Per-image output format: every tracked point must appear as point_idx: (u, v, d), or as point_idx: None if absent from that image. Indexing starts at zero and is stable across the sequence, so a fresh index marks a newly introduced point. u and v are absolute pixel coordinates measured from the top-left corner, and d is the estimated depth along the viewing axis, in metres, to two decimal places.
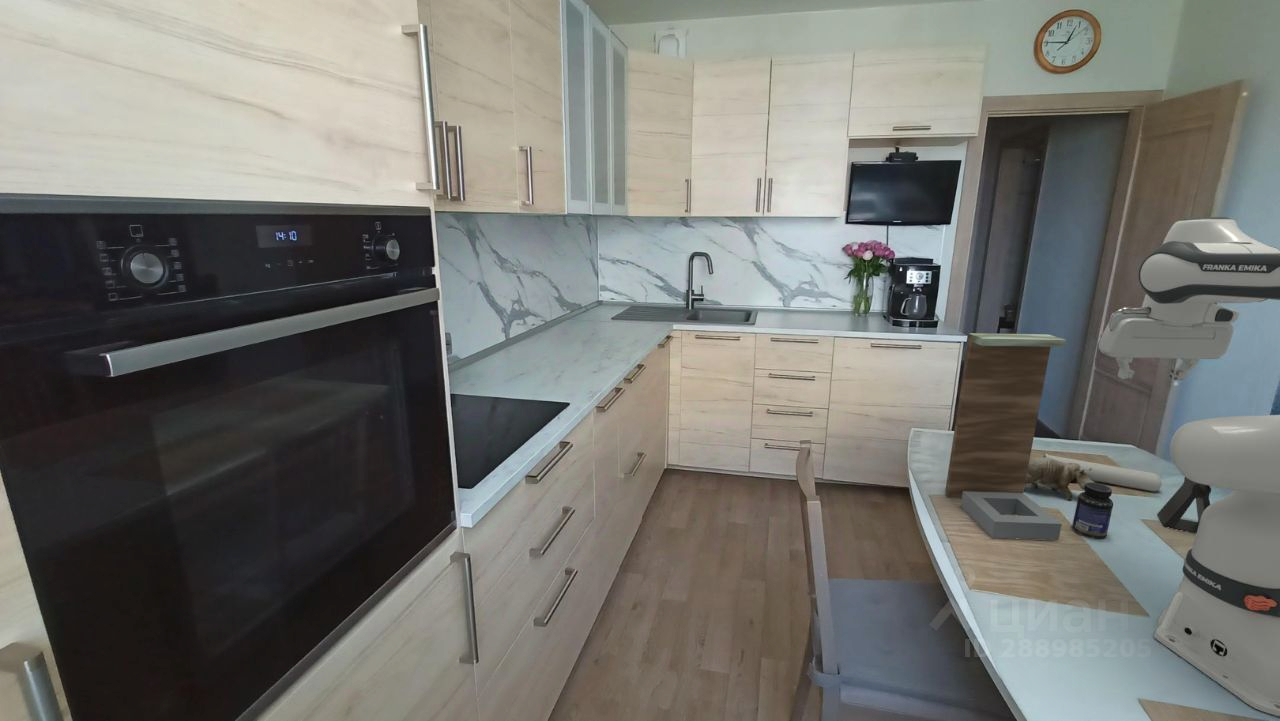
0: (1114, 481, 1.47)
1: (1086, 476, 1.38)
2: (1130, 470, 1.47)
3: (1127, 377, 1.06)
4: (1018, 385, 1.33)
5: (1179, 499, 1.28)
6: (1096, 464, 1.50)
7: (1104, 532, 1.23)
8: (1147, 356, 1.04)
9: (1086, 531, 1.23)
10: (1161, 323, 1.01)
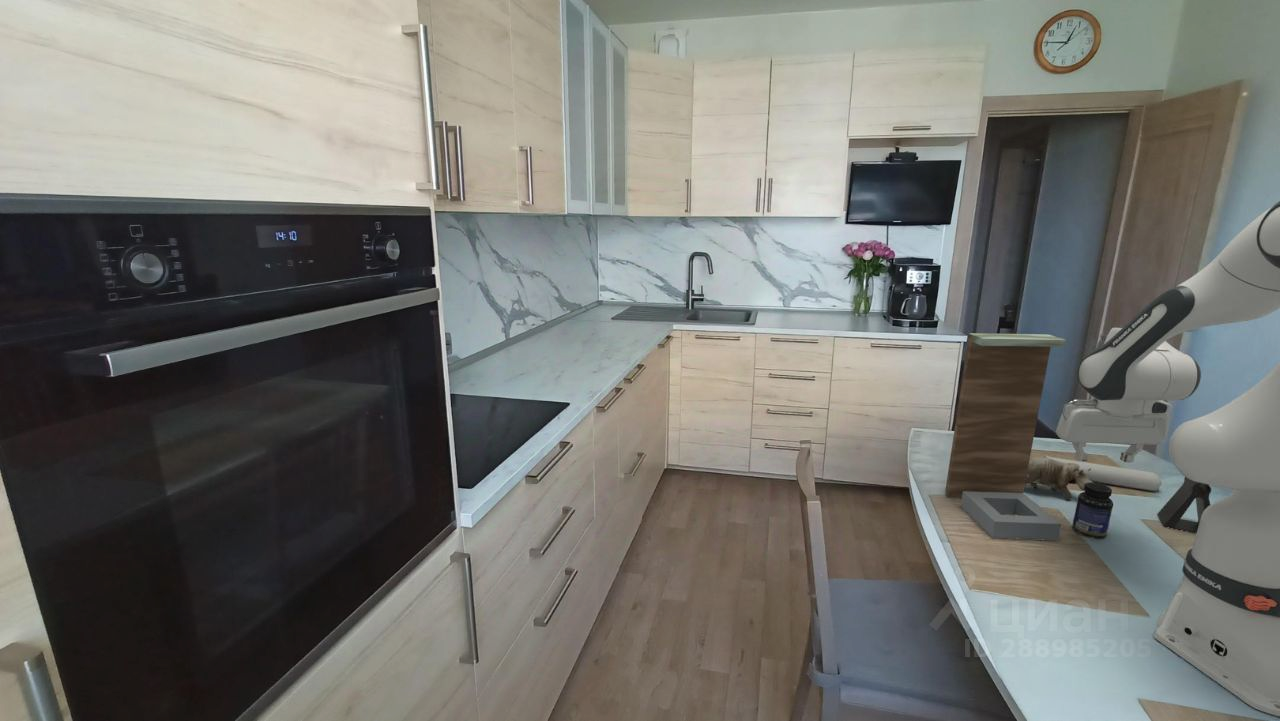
0: (1115, 482, 1.47)
1: (1085, 476, 1.37)
2: (1130, 470, 1.47)
3: (1082, 459, 1.21)
4: (1018, 385, 1.33)
5: (1179, 499, 1.28)
6: (1096, 465, 1.49)
7: (1104, 532, 1.23)
8: (1097, 441, 1.19)
9: (1086, 531, 1.23)
10: (1107, 413, 1.17)
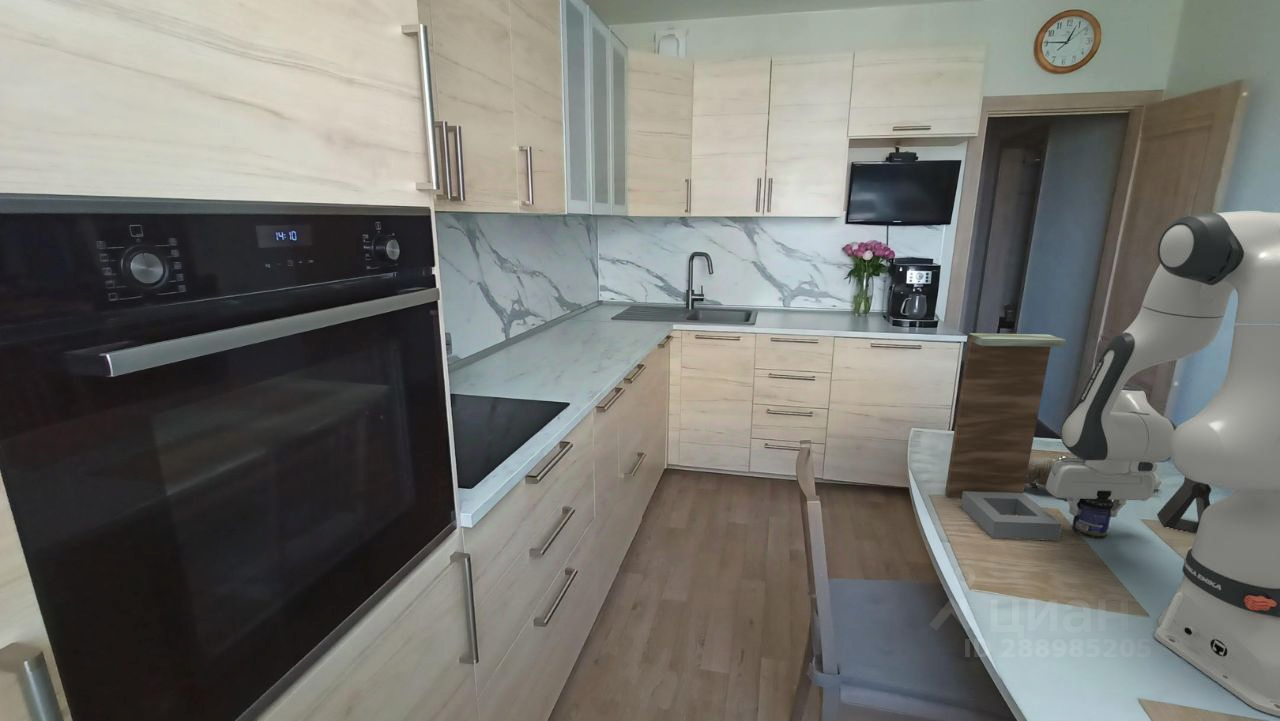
0: None
1: None
2: None
3: (1076, 514, 1.24)
4: (1018, 385, 1.33)
5: (1179, 499, 1.28)
6: None
7: (1104, 532, 1.23)
8: (1086, 497, 1.22)
9: (1086, 531, 1.23)
10: (1095, 470, 1.20)
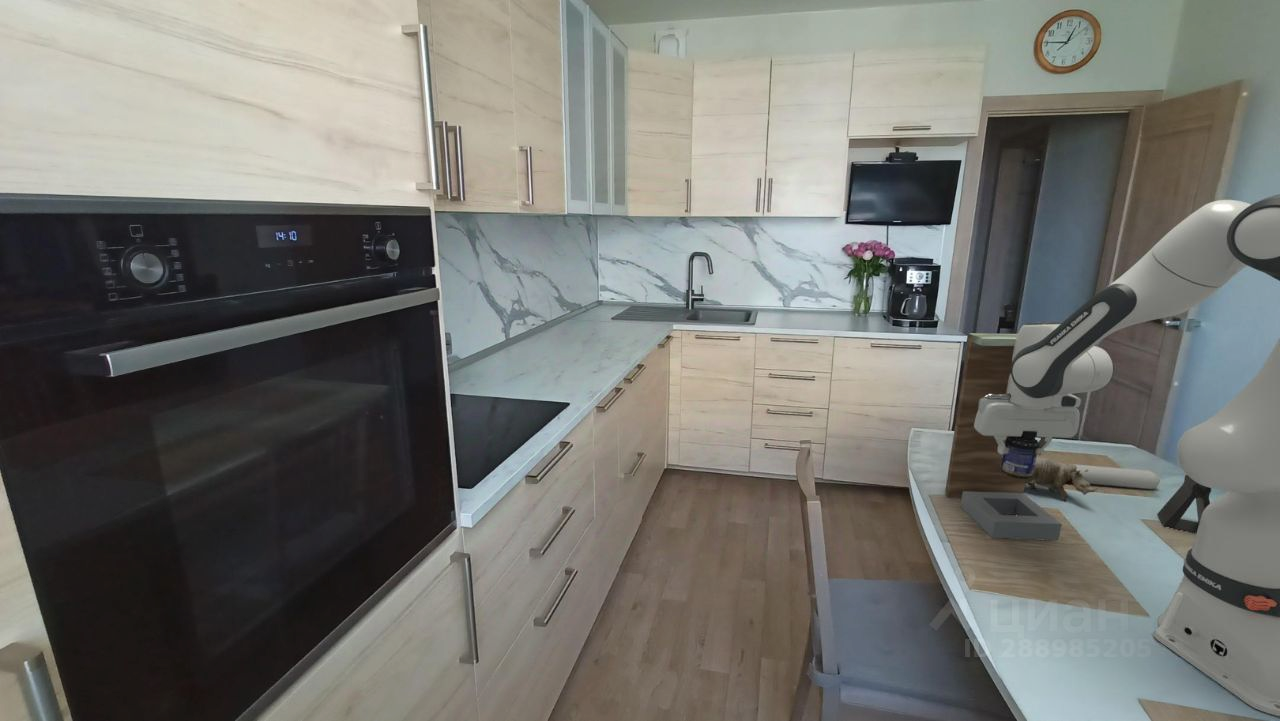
0: (1118, 483, 1.46)
1: (1082, 477, 1.37)
2: (1130, 470, 1.46)
3: (1004, 452, 1.25)
4: None
5: (1179, 499, 1.28)
6: (1099, 467, 1.48)
7: (1030, 473, 1.23)
8: (1012, 435, 1.23)
9: (1012, 472, 1.24)
10: (1019, 407, 1.21)
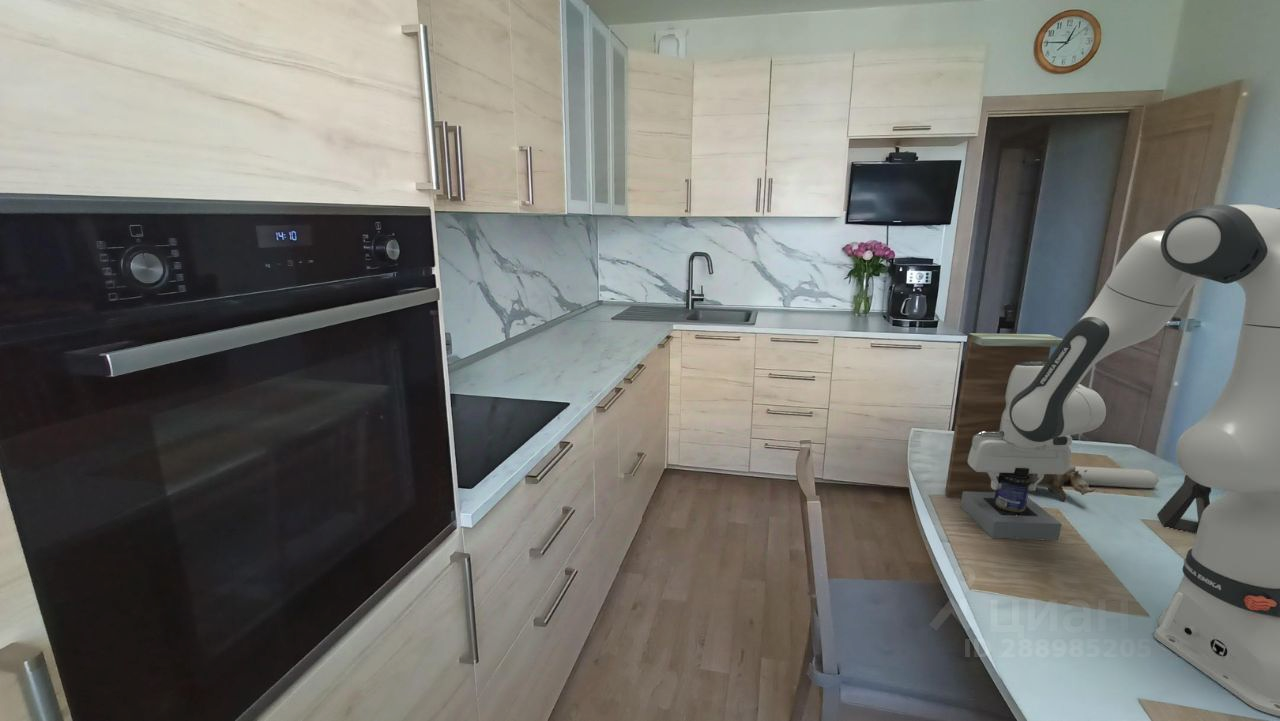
0: (1120, 484, 1.46)
1: (1080, 478, 1.37)
2: (1130, 470, 1.46)
3: (997, 488, 1.27)
4: None
5: (1179, 499, 1.28)
6: (1100, 468, 1.47)
7: (1022, 508, 1.26)
8: (1005, 471, 1.25)
9: (1005, 507, 1.27)
10: (1012, 445, 1.23)
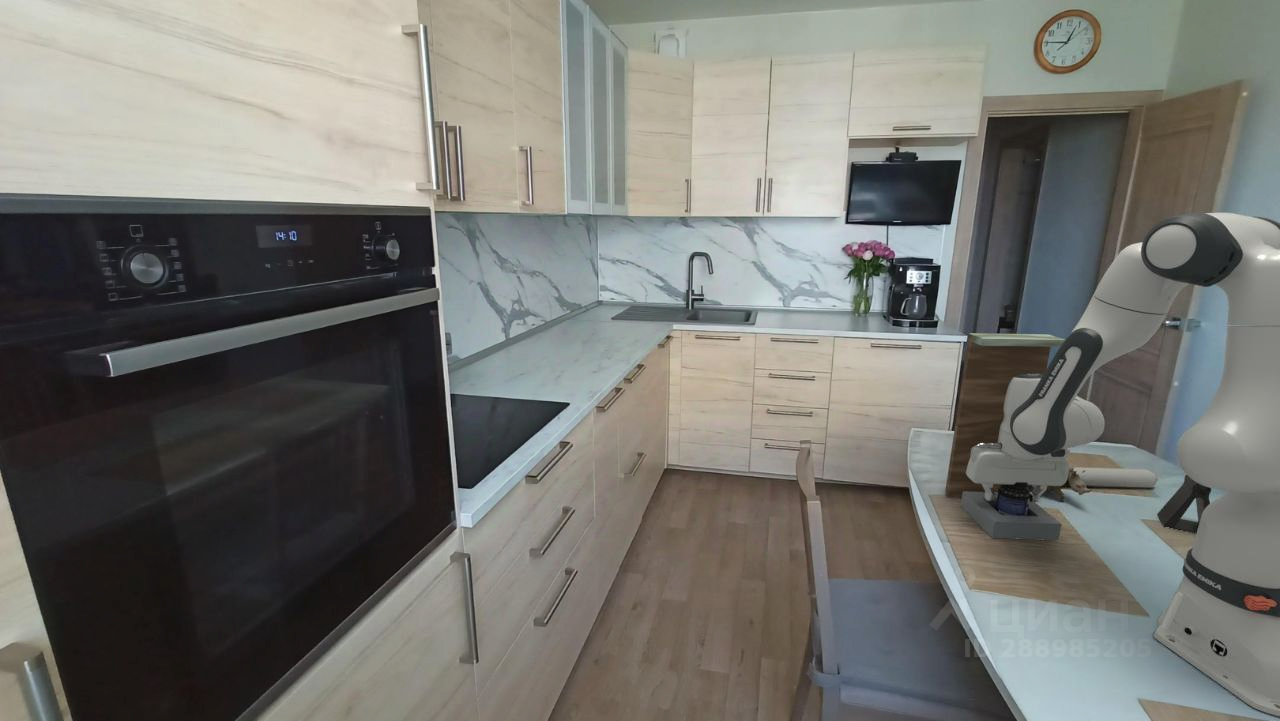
0: (1121, 484, 1.45)
1: (1078, 478, 1.37)
2: (1130, 470, 1.46)
3: (991, 499, 1.27)
4: None
5: (1179, 499, 1.28)
6: (1102, 469, 1.47)
7: None
8: (1003, 483, 1.25)
9: None
10: (1010, 456, 1.24)
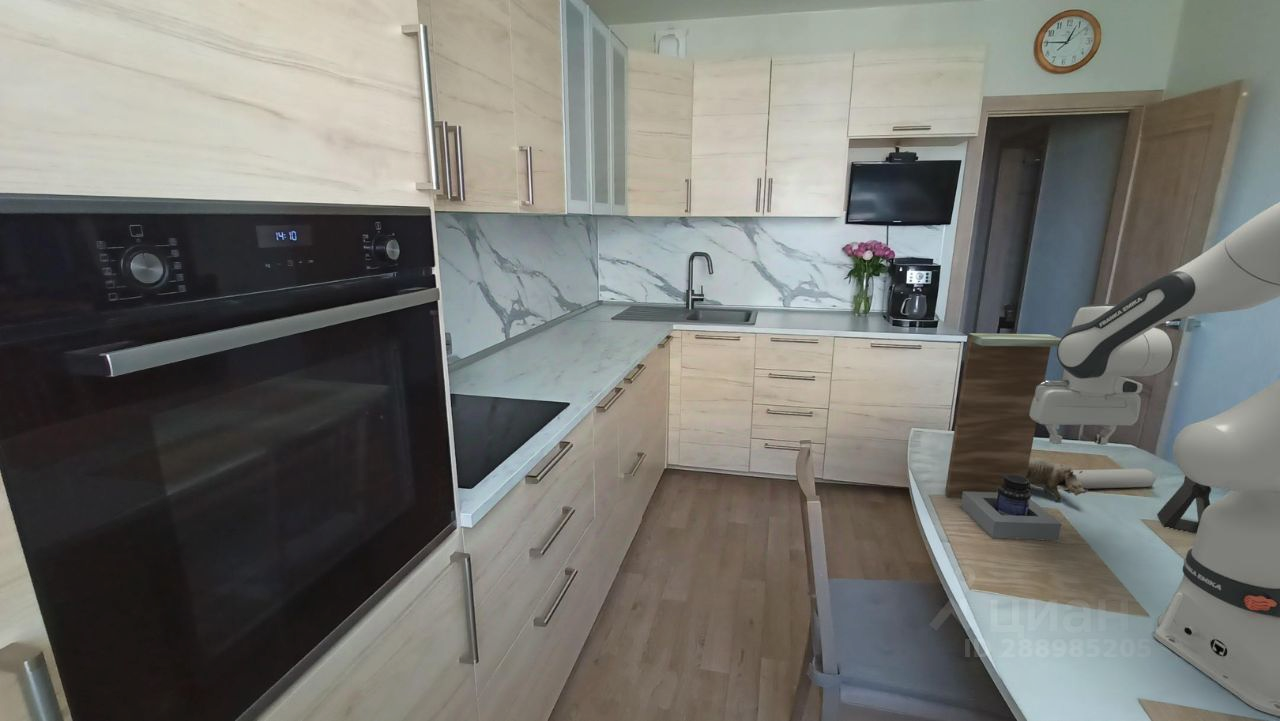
0: (1123, 485, 1.45)
1: (1075, 478, 1.36)
2: (1130, 470, 1.46)
3: (1057, 442, 1.20)
4: (1018, 385, 1.33)
5: (1179, 499, 1.28)
6: (1104, 471, 1.46)
7: None
8: (1071, 423, 1.18)
9: None
10: (1078, 394, 1.16)
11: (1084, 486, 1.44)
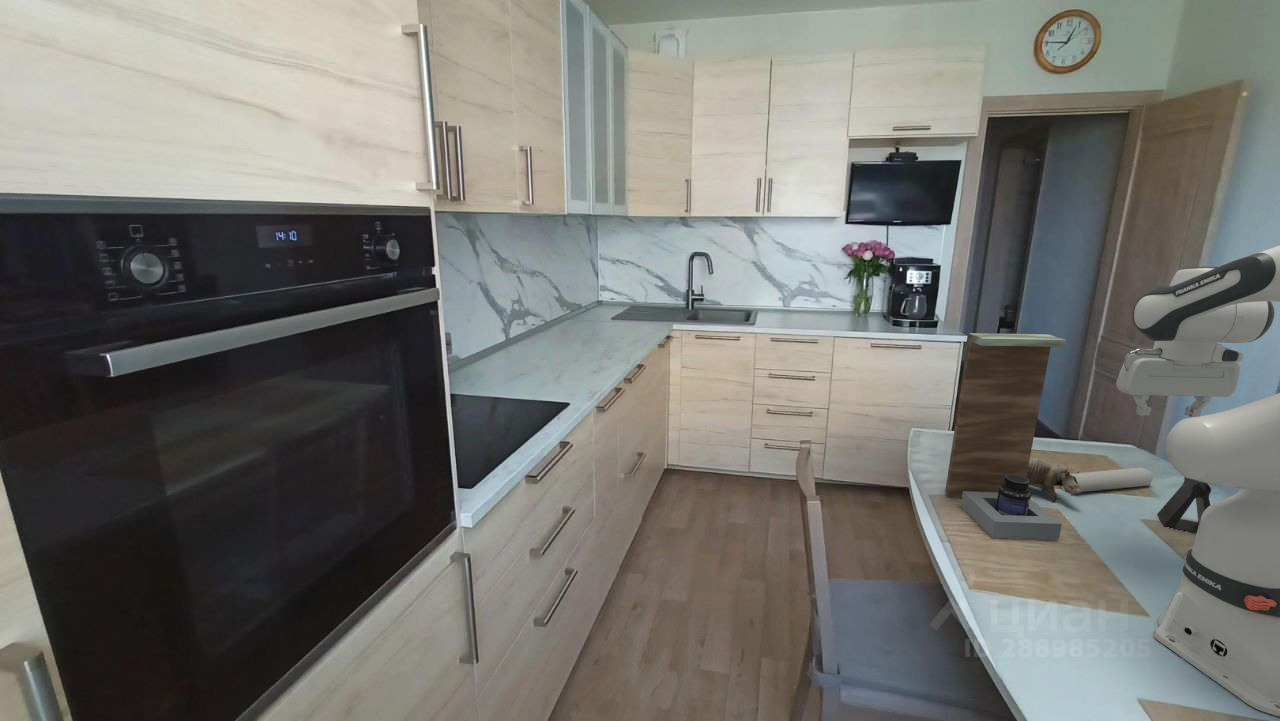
0: (1125, 485, 1.45)
1: (1071, 479, 1.36)
2: (1129, 470, 1.46)
3: (1145, 414, 1.14)
4: (1018, 385, 1.33)
5: (1179, 499, 1.28)
6: (1107, 472, 1.45)
7: None
8: (1162, 394, 1.12)
9: None
10: (1173, 363, 1.10)
11: (1090, 489, 1.43)
